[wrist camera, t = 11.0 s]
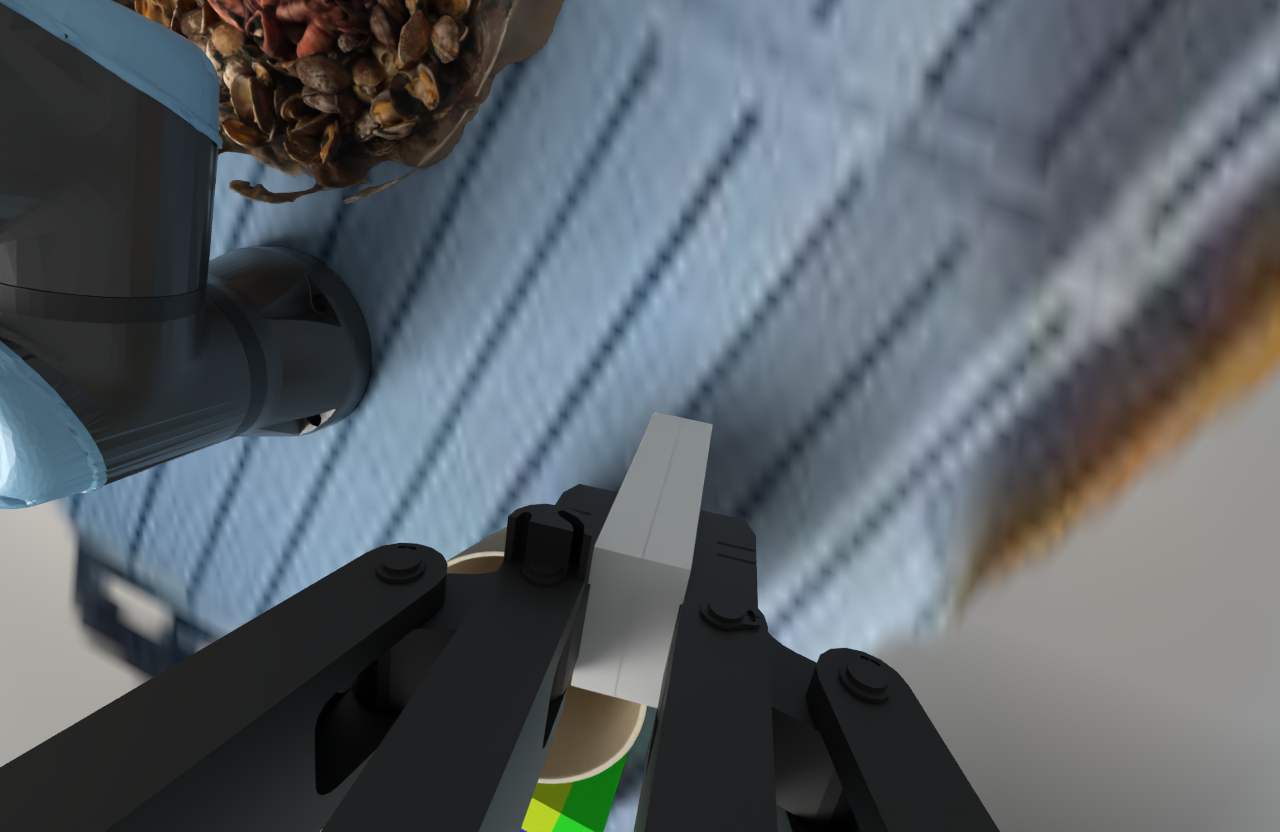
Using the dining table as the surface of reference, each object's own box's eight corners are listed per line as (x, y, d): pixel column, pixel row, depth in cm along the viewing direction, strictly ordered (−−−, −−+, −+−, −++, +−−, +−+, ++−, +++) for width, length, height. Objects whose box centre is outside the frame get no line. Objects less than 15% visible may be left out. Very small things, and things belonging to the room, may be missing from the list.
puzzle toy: (501, 754, 58) (445, 854, 48) (533, 678, 54) (480, 769, 45) (596, 806, 57) (557, 917, 47) (635, 731, 53) (601, 835, 44)
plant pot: (703, 625, 49) (664, 794, 34) (532, 623, 53) (430, 775, 38) (678, 447, 45) (624, 549, 30) (497, 460, 49) (369, 556, 34)
